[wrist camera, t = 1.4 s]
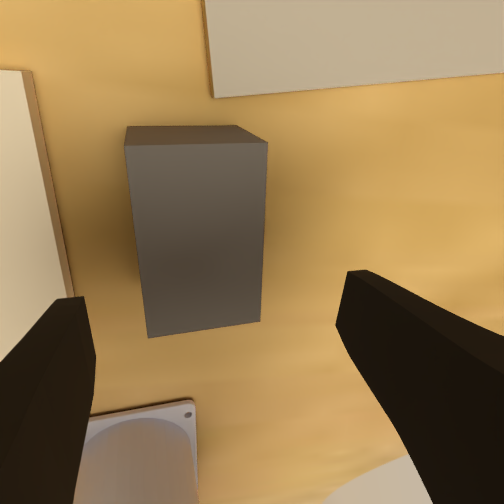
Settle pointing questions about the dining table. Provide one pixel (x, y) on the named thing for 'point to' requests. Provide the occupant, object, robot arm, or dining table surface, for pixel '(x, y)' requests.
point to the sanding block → (197, 224)
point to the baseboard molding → (347, 42)
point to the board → (26, 215)
